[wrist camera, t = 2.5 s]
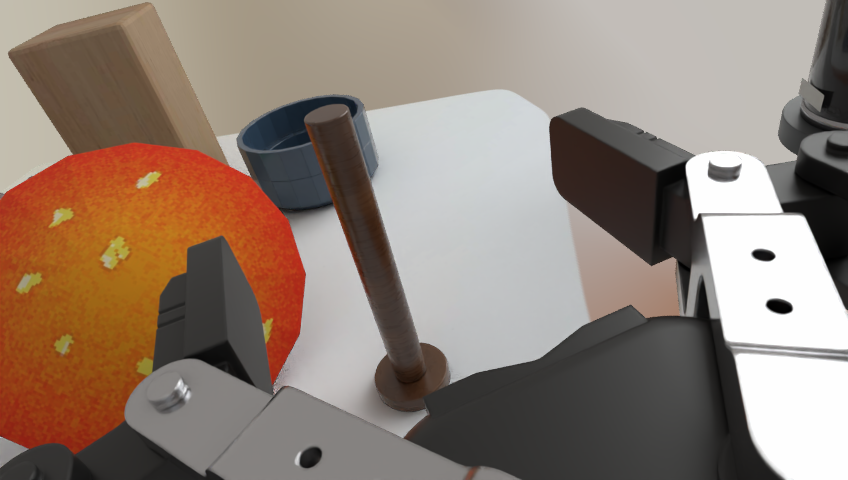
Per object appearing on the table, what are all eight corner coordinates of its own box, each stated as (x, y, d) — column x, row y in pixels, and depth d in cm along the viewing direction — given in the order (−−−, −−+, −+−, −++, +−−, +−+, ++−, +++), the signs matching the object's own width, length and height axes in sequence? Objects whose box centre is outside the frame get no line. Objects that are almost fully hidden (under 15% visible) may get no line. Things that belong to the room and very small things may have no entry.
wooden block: (154, 196, 63) (53, 25, 52) (235, 175, 63) (152, 0, 52) (129, 243, 55) (2, 52, 44) (222, 219, 55) (120, 22, 44)
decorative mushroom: (39, 385, 40) (-118, 224, 31) (290, 258, 47) (218, 97, 38) (35, 552, 29) (-210, 374, 20) (363, 353, 36) (285, 157, 27)
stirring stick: (434, 342, 35) (362, 82, 25) (462, 392, 32) (391, 112, 21) (370, 369, 35) (268, 113, 24) (390, 424, 31) (281, 149, 20)
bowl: (363, 140, 64) (346, 84, 60) (395, 184, 54) (378, 121, 50) (257, 176, 62) (233, 121, 58) (269, 230, 51) (240, 167, 47)
